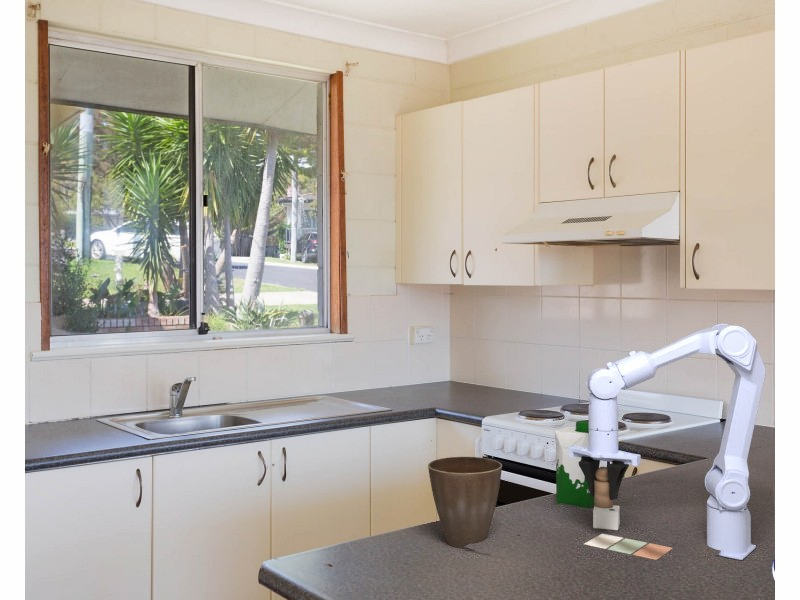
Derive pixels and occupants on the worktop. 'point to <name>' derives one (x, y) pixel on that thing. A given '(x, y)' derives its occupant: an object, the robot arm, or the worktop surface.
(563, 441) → the milk carton
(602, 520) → the die
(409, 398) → the worktop surface
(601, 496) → the pawn
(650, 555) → the board
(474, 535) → the plant pot
